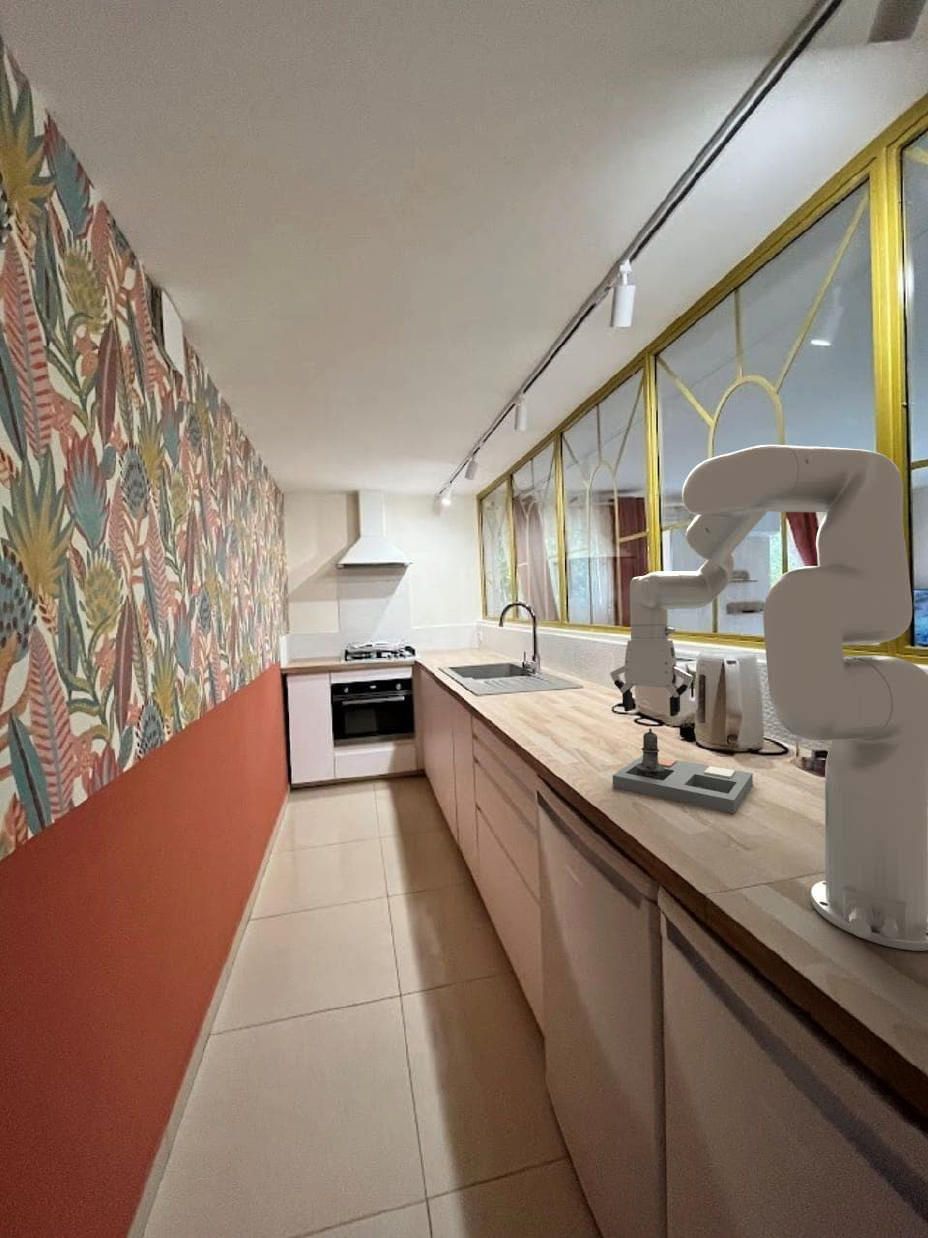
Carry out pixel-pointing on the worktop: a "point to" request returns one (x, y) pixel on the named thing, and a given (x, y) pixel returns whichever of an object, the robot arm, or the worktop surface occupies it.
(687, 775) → the socket board
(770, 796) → the worktop surface
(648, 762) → the salt shaker
